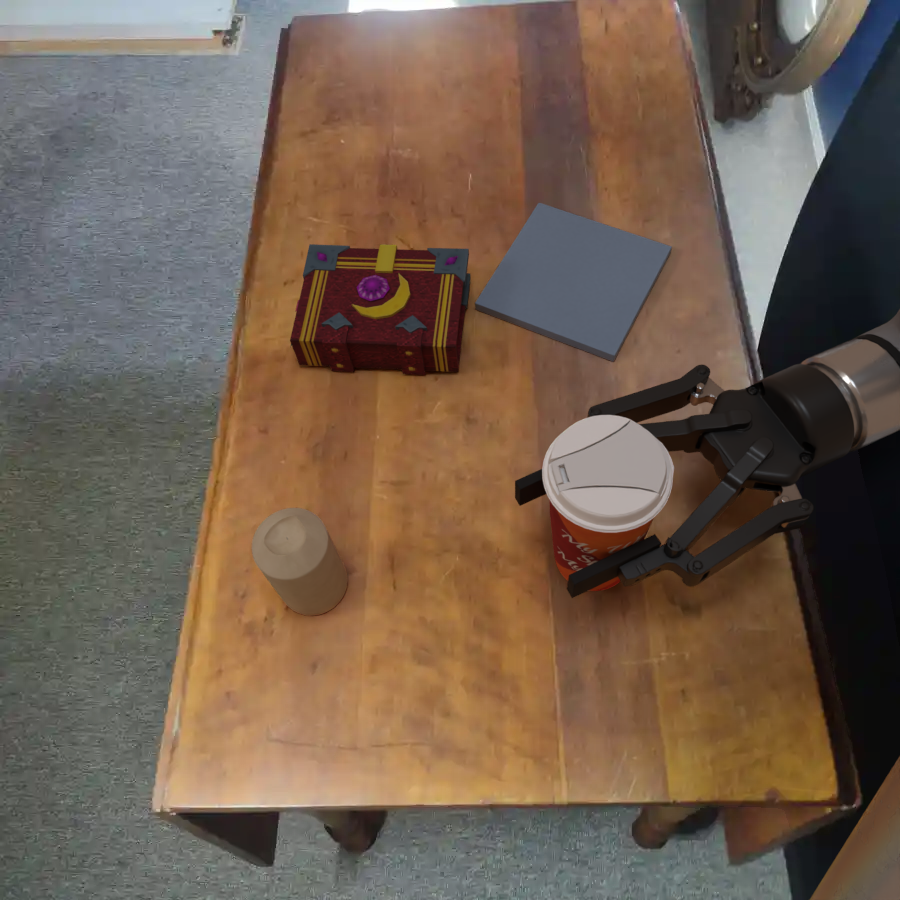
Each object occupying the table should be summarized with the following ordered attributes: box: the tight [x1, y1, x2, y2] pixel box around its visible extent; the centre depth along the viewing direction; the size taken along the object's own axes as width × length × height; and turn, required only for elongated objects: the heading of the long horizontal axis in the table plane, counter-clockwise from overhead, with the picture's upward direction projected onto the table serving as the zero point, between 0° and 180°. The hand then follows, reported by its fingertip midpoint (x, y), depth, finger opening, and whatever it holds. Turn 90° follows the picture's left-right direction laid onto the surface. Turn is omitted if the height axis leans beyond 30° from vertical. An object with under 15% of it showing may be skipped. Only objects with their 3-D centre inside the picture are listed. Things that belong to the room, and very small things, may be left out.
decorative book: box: [289, 243, 472, 376], centre depth 78 cm, size 11×16×5 cm
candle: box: [251, 507, 348, 617], centre depth 63 cm, size 6×6×10 cm
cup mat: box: [474, 202, 673, 363], centre depth 80 cm, size 14×14×1 cm
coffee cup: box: [541, 415, 675, 592], centre depth 59 cm, size 8×8×15 cm
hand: (543, 538), depth 58 cm, fingers closed on coffee cup, 7 cm apart
